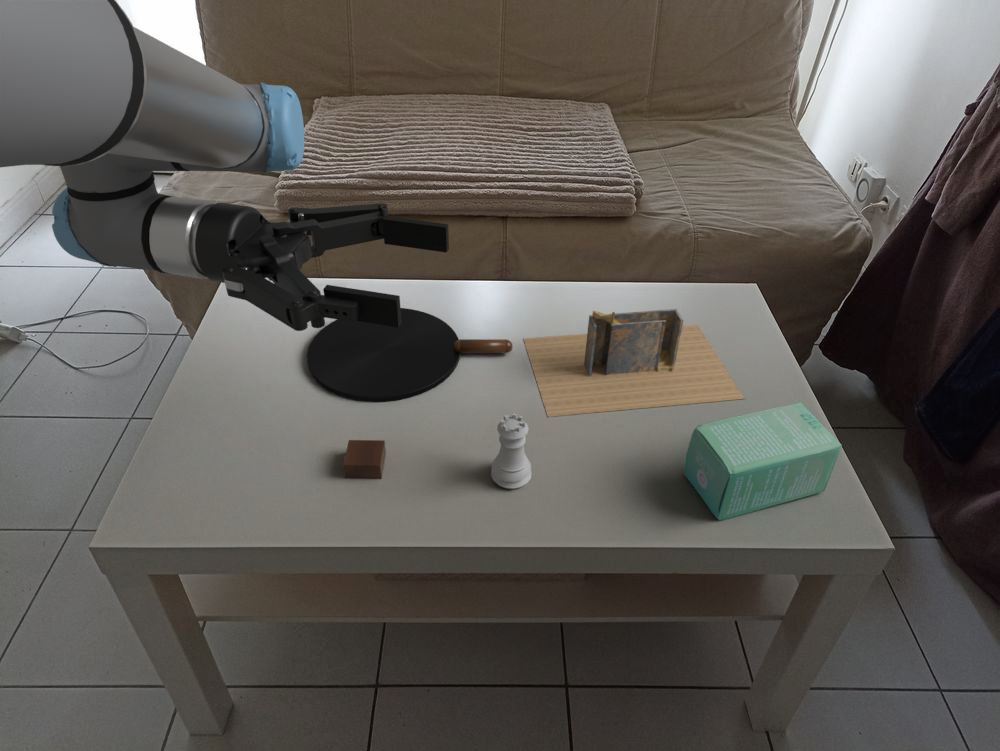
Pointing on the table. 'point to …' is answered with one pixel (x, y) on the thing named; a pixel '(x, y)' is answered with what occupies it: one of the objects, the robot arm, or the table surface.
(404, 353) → the pan
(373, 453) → the block
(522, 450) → the rook chess piece
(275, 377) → the table surface
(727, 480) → the box
